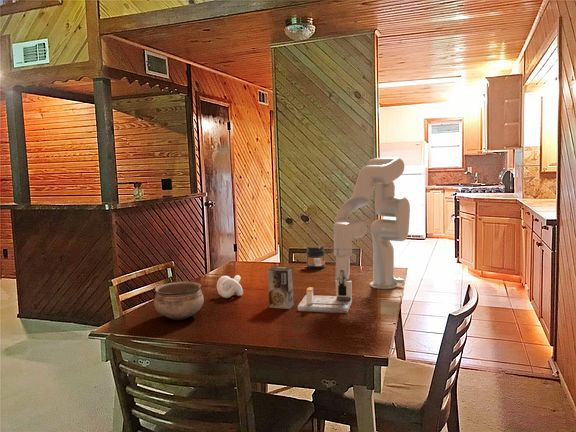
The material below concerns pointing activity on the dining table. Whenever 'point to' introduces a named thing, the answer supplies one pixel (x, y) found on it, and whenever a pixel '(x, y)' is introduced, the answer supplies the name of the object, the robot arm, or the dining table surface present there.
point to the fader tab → (310, 295)
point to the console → (325, 304)
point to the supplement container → (315, 257)
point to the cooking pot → (178, 299)
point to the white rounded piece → (229, 286)
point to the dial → (348, 290)
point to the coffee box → (280, 287)
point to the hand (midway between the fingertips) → (343, 292)
